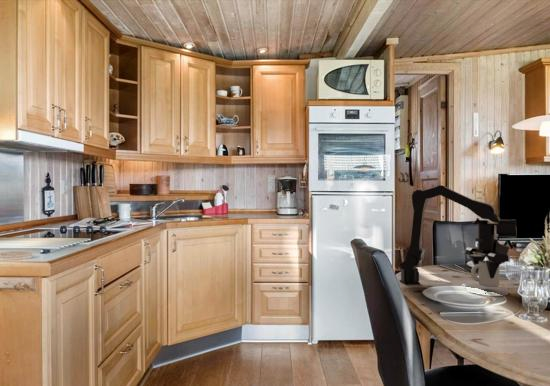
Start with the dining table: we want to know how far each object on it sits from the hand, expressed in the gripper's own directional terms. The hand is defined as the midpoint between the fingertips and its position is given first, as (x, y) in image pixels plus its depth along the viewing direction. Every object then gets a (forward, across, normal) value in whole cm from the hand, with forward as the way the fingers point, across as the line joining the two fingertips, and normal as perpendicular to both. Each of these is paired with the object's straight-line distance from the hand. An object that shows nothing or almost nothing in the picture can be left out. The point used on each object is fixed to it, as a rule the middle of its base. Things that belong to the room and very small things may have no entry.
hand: (486, 276), depth 160 cm
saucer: (+6, 0, 0) cm, 6 cm away
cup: (+4, 0, 0) cm, 4 cm away
